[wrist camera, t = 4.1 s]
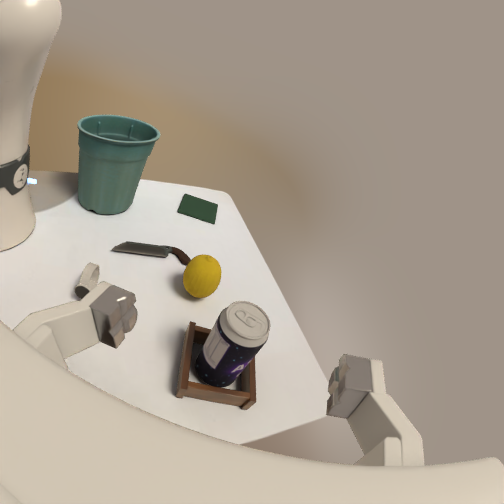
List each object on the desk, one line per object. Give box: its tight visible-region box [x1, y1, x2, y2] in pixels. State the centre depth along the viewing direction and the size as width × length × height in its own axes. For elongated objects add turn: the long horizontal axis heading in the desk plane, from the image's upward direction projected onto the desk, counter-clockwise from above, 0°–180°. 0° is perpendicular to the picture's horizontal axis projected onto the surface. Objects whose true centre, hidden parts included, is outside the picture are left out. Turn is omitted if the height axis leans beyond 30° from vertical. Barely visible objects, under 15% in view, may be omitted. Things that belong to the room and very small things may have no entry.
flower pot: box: [78, 115, 160, 214], centre depth 49 cm, size 16×16×16 cm
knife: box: [112, 242, 191, 265], centre depth 47 cm, size 14×4×1 cm, turn 107°
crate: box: [176, 322, 256, 410], centre depth 35 cm, size 9×10×3 cm
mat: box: [178, 194, 218, 224], centre depth 65 cm, size 8×8×1 cm
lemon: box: [183, 255, 221, 298], centre depth 43 cm, size 6×6×8 cm
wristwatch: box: [75, 263, 100, 299], centre depth 35 cm, size 3×5×5 cm, turn 2°
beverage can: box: [195, 301, 270, 387], centre depth 32 cm, size 6×6×12 cm
